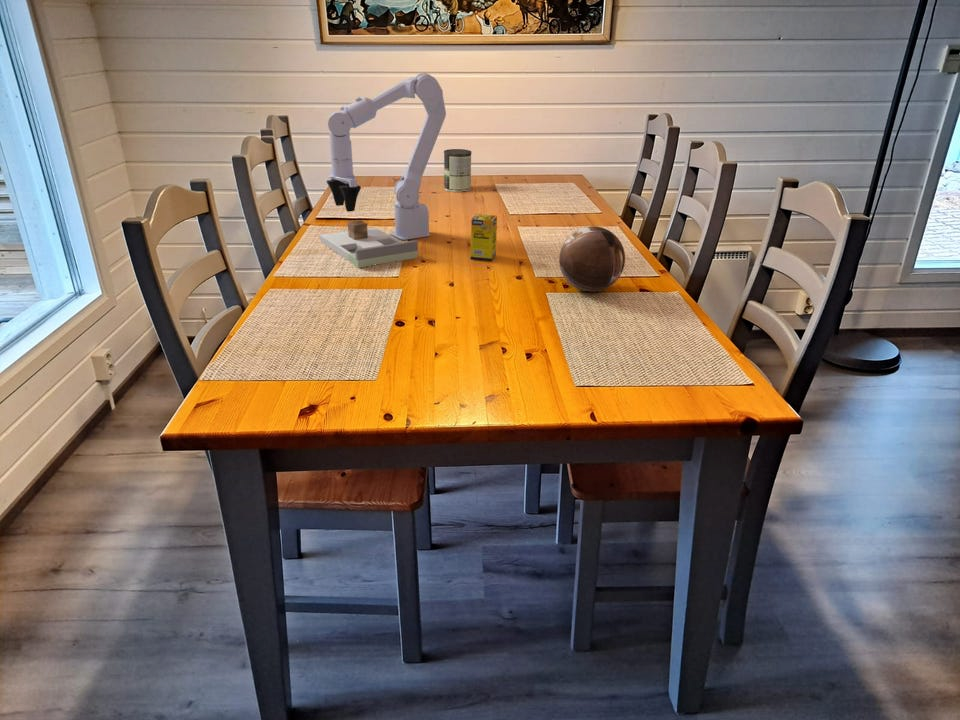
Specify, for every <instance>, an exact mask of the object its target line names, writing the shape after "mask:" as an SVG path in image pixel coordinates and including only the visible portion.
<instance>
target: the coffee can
mask: <svg viewBox="0 0 960 720" xmlns="http://www.w3.org/2000/svg"><path fill="white" fill-rule="evenodd" d="M443 154H444V155H443V157H444V158H443V159H444V160H443V163H444V164H443V167H444V170H443V172H444V173H443V174H444V175H443V176H444V177H443V178H444V179H443V180H444V182H443V185H444V186H443V189H444V191H446V192H449V191H451V193H462V192H461V191H467V192H470V191H471V186H472V185H471V183H472V182H471V181H472V150H469V149H464V148H463V149H462V148H450V149H449V148H448V149H445V150H443ZM469 190H470V191H469ZM452 191H453V192H452Z"/></svg>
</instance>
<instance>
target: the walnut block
mask: <svg viewBox="0 0 960 720" xmlns="http://www.w3.org/2000/svg"><path fill="white" fill-rule="evenodd" d="M367 228H368V222H367V223H366V222H365V221H362V220H355V221H348V222H347V231H348V236H349V237H350V238H352V239H354V240H357V239H364V238H368V232H367Z"/></svg>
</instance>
